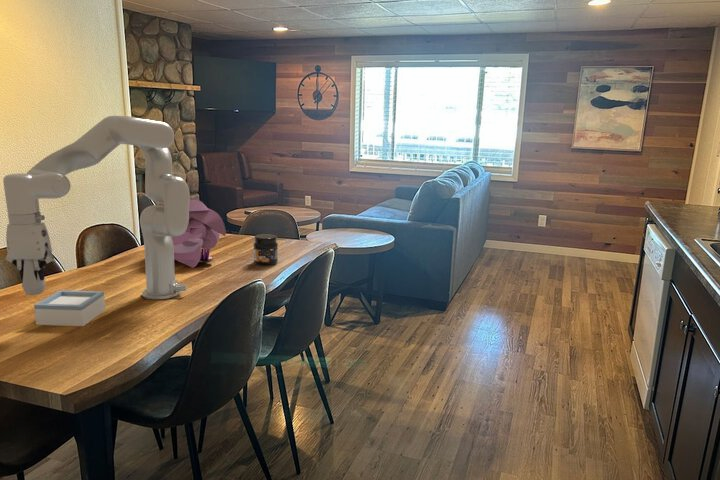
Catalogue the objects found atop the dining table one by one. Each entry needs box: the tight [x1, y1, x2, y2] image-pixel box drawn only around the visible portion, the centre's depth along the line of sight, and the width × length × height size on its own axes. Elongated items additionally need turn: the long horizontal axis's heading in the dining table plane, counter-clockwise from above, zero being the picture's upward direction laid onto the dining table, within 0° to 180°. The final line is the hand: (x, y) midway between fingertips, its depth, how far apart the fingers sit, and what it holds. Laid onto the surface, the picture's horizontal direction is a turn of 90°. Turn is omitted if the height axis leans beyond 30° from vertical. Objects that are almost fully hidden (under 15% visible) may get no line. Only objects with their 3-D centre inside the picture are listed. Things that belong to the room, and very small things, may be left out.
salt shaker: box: [21, 260, 47, 296], centre depth 150 cm, size 6×6×13 cm
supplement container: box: [252, 233, 279, 266], centre depth 233 cm, size 10×10×12 cm
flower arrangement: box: [172, 199, 227, 269], centre depth 231 cm, size 35×24×28 cm
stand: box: [33, 289, 106, 327], centre depth 165 cm, size 14×14×6 cm
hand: (33, 281), depth 151 cm, fingers closed on salt shaker, 3 cm apart
